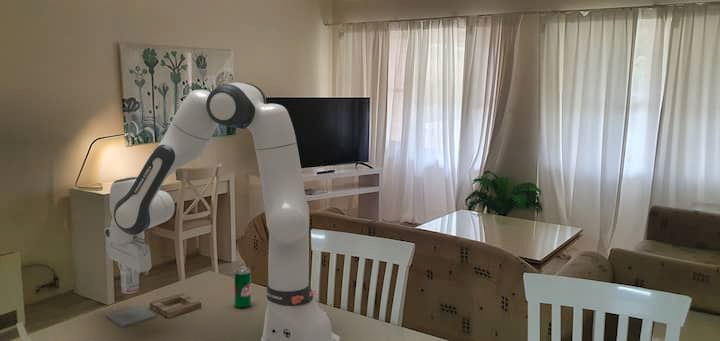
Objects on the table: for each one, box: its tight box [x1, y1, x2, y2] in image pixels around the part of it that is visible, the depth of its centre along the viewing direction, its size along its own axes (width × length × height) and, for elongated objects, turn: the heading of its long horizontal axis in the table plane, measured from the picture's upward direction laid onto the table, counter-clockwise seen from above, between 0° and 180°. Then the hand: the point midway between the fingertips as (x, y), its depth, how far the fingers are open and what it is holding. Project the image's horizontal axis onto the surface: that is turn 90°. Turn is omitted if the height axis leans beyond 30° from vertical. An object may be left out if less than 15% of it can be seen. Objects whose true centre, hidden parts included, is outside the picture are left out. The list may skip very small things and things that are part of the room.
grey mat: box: [106, 305, 157, 328], centre depth 160 cm, size 10×10×1 cm
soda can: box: [233, 266, 252, 309], centre depth 170 cm, size 5×5×12 cm
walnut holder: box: [149, 292, 202, 319], centre depth 167 cm, size 11×11×2 cm
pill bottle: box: [120, 264, 140, 295], centre depth 158 cm, size 5×5×8 cm
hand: (129, 279), depth 158 cm, fingers closed on pill bottle, 5 cm apart
